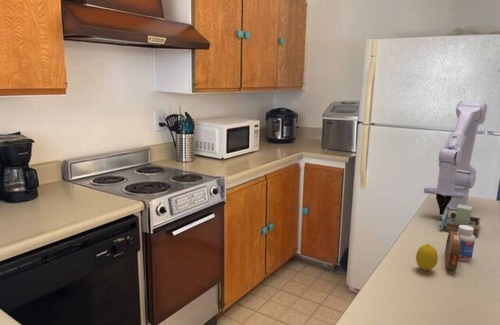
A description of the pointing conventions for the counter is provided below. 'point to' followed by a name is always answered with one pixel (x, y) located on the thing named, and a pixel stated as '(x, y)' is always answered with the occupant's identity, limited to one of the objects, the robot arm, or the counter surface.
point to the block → (463, 215)
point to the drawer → (450, 220)
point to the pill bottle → (466, 242)
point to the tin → (452, 250)
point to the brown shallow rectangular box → (455, 227)
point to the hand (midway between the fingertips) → (441, 213)
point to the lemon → (426, 257)
